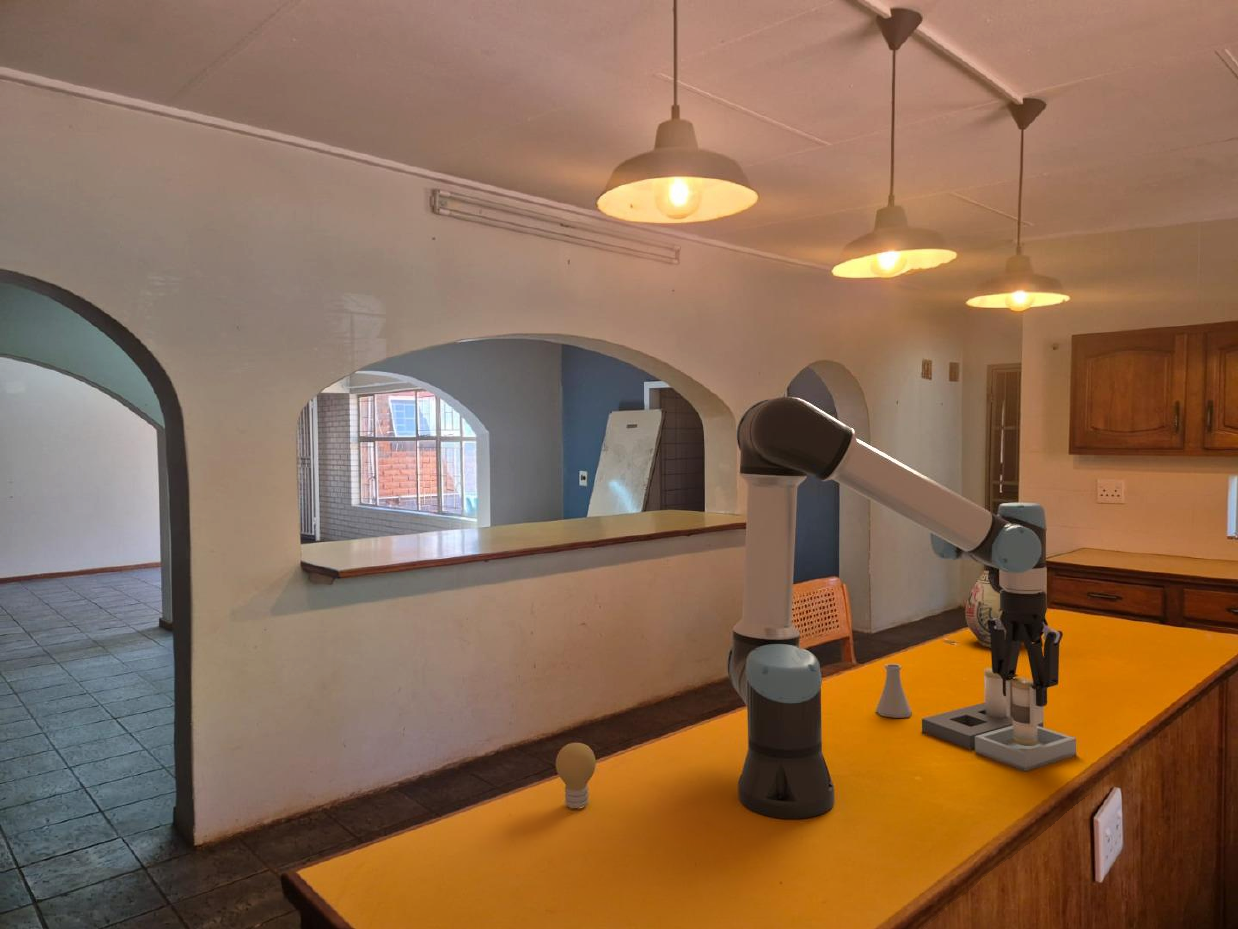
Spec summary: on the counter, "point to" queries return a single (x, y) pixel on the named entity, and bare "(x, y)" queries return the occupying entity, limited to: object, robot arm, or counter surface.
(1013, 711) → the cylinder
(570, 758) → the light bulb
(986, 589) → the ceramic jug
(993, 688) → the cylinder
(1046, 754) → the parts tray
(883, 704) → the flask
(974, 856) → the counter surface
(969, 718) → the block
